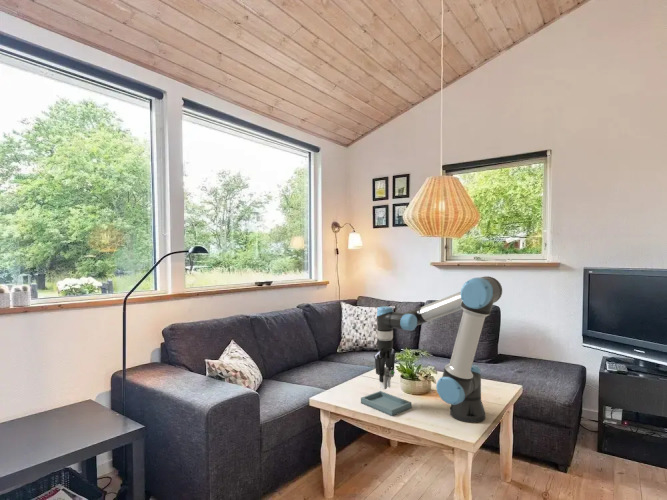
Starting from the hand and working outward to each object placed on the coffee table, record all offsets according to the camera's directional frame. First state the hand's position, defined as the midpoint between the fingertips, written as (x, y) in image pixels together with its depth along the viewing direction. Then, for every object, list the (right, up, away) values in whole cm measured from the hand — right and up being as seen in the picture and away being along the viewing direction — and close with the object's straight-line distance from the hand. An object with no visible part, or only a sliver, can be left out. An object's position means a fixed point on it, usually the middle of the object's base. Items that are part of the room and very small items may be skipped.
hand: (385, 387), depth 185 cm
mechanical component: (0, -1, 0) cm, 1 cm away
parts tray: (0, -9, 0) cm, 9 cm away
